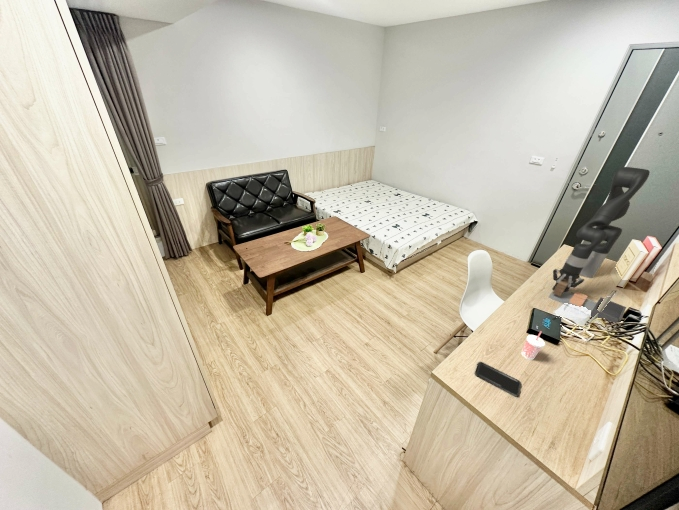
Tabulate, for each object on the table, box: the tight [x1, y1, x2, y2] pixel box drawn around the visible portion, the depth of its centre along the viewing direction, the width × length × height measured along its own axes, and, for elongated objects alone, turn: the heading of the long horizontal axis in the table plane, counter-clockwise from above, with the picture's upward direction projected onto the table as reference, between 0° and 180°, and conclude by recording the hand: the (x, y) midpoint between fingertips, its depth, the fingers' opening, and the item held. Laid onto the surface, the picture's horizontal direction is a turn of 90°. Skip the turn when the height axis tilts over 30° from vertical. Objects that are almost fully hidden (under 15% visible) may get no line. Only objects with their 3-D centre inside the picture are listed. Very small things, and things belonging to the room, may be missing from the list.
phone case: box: [557, 315, 596, 343], centre depth 124 cm, size 7×1×15 cm
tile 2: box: [569, 296, 585, 307], centre depth 137 cm, size 5×5×2 cm
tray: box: [591, 297, 627, 323], centre depth 131 cm, size 16×10×5 cm, turn 128°
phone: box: [474, 361, 522, 398], centre depth 99 cm, size 8×1×15 cm
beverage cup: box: [521, 330, 546, 361], centre depth 106 cm, size 6×6×14 cm
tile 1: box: [574, 291, 589, 300], centre depth 141 cm, size 5×5×2 cm
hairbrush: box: [552, 274, 577, 292], centre depth 156 cm, size 8×4×25 cm
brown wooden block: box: [552, 279, 568, 296], centre depth 143 cm, size 14×4×6 cm, turn 128°
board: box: [548, 290, 597, 312], centre depth 141 cm, size 12×18×2 cm, turn 38°
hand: (560, 289), depth 144 cm, fingers closed on brown wooden block, 3 cm apart
